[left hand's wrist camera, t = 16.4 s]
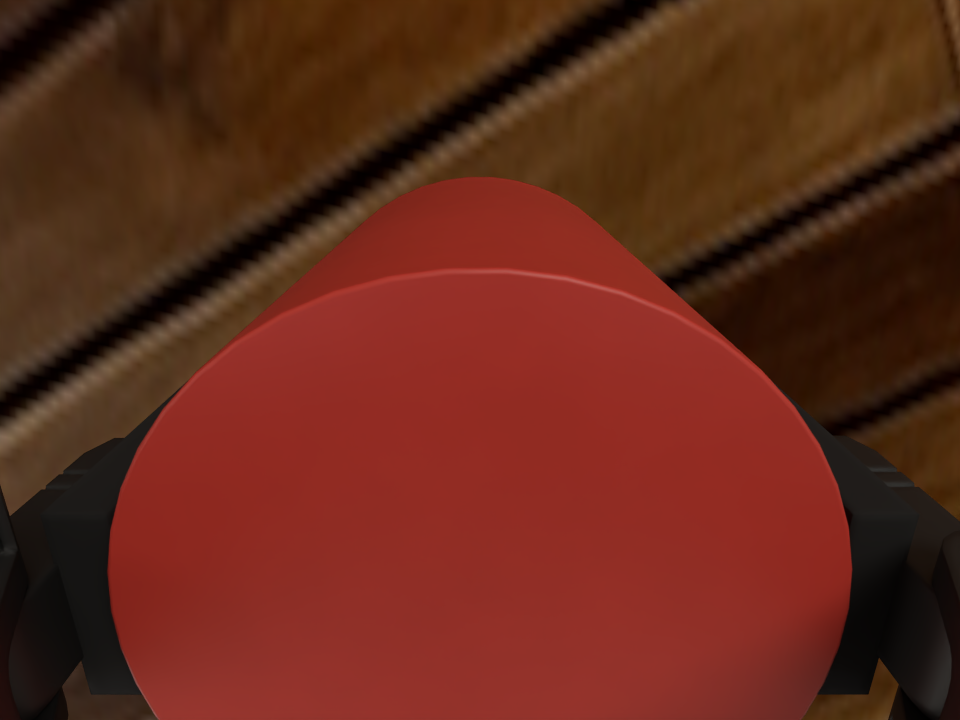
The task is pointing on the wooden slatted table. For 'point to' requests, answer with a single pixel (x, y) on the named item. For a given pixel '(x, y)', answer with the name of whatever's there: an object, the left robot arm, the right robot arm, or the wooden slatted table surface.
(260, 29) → the wooden slatted table surface
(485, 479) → the can
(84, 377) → the wooden slatted table surface
